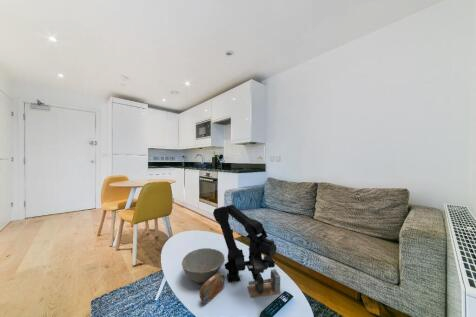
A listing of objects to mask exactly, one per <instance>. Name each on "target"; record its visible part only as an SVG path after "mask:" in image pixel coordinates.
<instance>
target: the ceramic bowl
mask: <svg viewBox="0 0 476 317" xmlns="http://www.w3.org/2000/svg"><path fill="white" fill-rule="evenodd" d="M225 260H226V259H225V255H224V253H223V252H221V251H220V250H218V249H215V248H209V247H208V248H206V247H205V248H198V249H195V250H192V251H190V252H188V253H187V254H186V255H185V256H184V257H183V258H182V260H181V267H182V269H183V271H184V273H185V274H186V276H187V277H188V278H189V279H190V280H191V281H193V282H195V283H197V284H202V283H205V282H206V281H207V280H209V279H210V278H211V277H212V276H214V275H215V274H216V273H219V271H220V269H221V268H222V266H223V265H224V264H225Z"/></svg>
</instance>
